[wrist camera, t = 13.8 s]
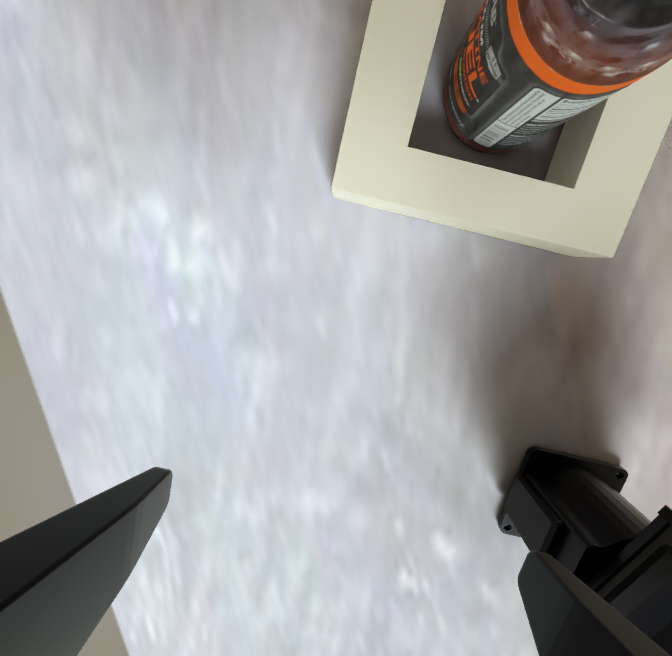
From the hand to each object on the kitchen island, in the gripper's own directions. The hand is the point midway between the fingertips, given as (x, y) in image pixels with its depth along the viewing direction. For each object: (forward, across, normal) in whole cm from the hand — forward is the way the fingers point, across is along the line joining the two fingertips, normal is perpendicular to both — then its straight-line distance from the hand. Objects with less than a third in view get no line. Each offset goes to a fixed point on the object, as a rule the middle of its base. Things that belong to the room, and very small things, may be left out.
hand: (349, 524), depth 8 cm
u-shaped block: (+13, -4, -14) cm, 20 cm away
